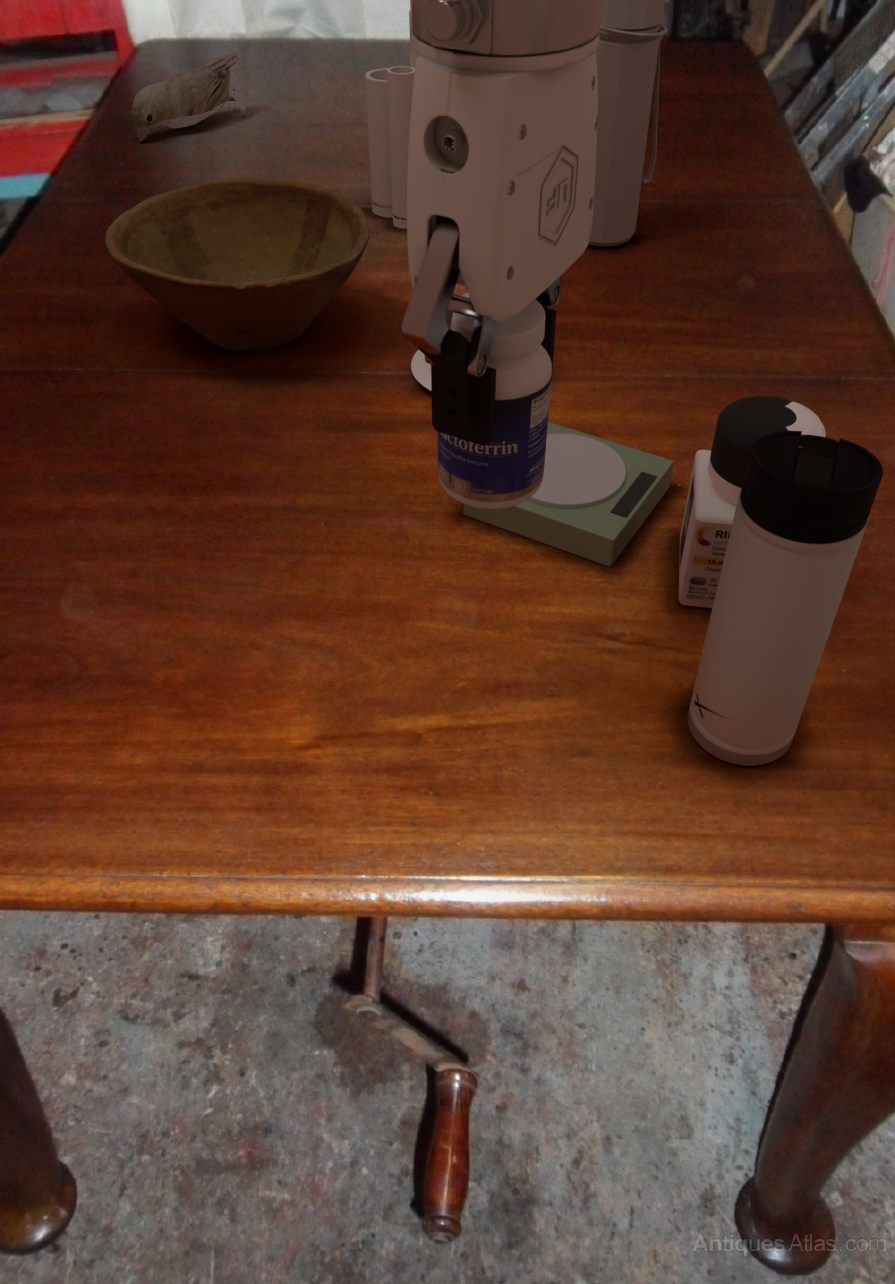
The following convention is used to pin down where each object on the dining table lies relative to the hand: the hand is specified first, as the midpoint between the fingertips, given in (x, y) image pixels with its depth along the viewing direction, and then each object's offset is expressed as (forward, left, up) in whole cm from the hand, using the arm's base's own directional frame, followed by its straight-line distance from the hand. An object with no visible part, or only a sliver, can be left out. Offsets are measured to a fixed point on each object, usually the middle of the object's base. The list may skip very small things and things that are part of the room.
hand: (493, 401), depth 54 cm
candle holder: (+18, -32, -20) cm, 41 cm away
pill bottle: (0, 0, -5) cm, 5 cm away
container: (-11, -17, -20) cm, 28 cm away
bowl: (+40, -28, -20) cm, 53 cm away
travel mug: (-16, -3, -20) cm, 25 cm away
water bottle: (+20, -64, -20) cm, 70 cm away
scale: (+3, -19, -20) cm, 27 cm away
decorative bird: (+80, -66, -20) cm, 106 cm away
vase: (+40, -58, -20) cm, 73 cm away
